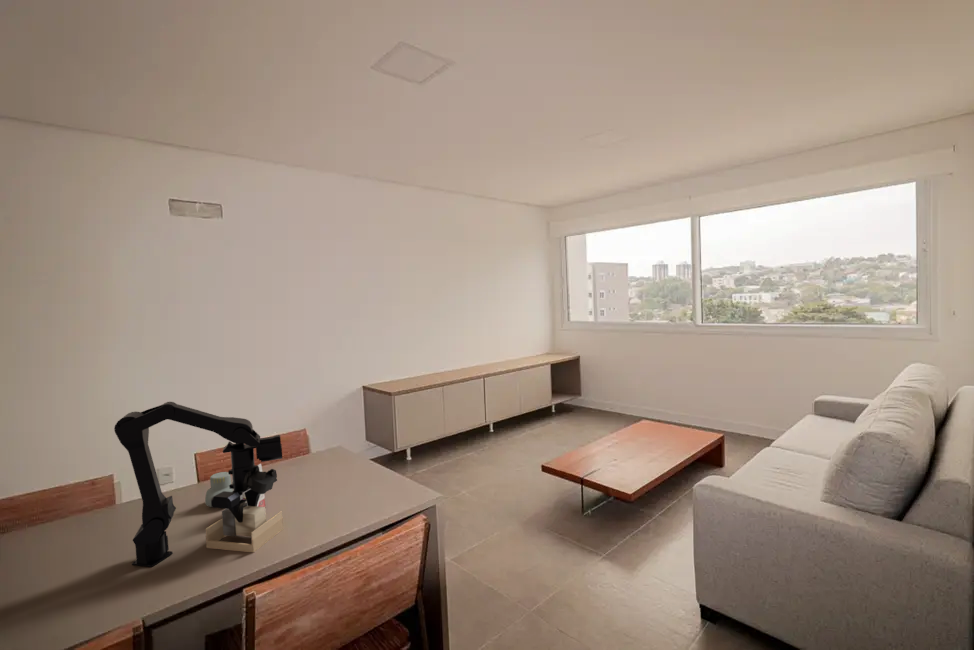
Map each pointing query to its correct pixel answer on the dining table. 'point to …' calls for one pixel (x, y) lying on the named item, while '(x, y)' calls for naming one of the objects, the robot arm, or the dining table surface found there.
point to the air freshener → (218, 486)
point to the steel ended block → (251, 521)
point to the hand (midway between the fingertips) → (246, 518)
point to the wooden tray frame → (258, 535)
